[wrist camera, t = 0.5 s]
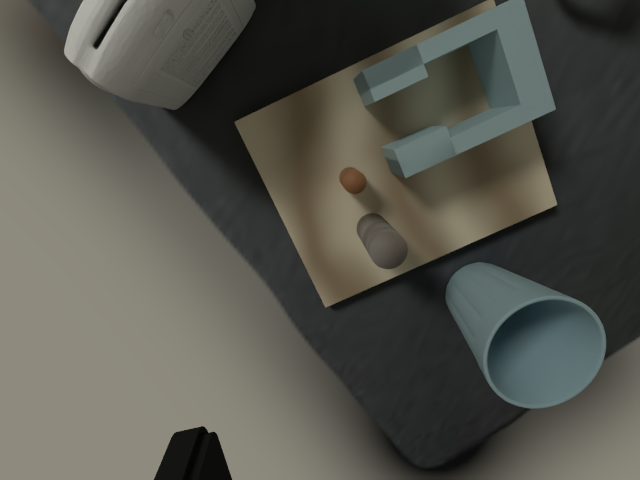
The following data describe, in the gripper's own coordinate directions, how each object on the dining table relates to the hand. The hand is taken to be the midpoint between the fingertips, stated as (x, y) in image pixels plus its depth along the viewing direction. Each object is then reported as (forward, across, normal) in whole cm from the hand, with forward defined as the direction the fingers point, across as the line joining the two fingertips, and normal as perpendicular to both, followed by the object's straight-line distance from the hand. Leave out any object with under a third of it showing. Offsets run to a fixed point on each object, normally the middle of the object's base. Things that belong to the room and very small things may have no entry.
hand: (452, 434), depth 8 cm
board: (+26, -5, -2) cm, 27 cm away
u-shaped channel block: (+25, -10, -7) cm, 27 cm away
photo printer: (+26, +7, -14) cm, 31 cm away
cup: (+26, -10, +10) cm, 30 cm away
